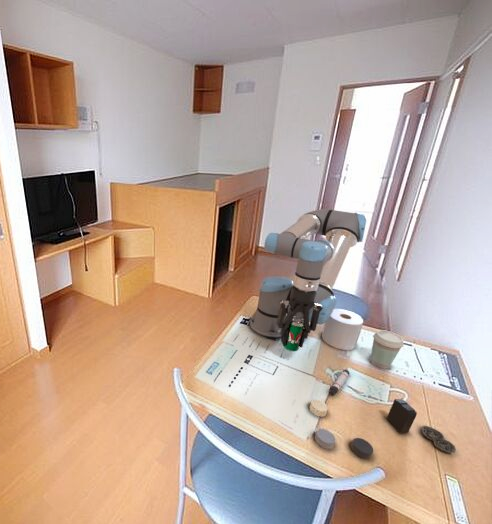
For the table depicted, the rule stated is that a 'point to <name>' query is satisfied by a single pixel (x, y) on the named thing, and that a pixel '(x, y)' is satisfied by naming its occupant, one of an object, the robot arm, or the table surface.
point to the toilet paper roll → (342, 329)
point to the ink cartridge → (401, 415)
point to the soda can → (294, 334)
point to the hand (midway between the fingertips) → (291, 344)
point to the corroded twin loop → (438, 439)
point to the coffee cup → (385, 348)
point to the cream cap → (318, 408)
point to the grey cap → (325, 438)
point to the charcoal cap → (362, 448)
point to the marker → (339, 382)
